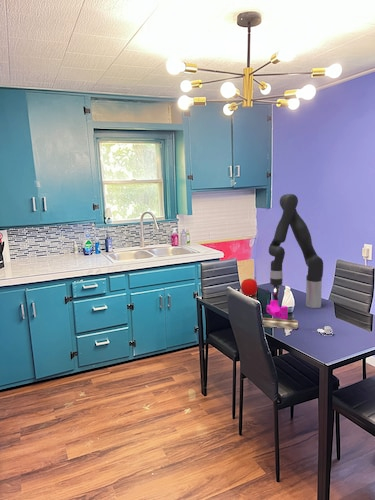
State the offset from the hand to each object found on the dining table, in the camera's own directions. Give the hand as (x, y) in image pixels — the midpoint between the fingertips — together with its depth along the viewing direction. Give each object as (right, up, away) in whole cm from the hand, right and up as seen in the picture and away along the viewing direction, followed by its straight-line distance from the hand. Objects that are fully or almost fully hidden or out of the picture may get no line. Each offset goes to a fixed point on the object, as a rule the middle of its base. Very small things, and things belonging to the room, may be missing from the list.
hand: (276, 303), depth 236 cm
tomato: (-12, +1, +29) cm, 32 cm away
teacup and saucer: (+18, -11, -36) cm, 42 cm away
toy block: (-2, -6, -10) cm, 12 cm away
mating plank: (-5, -9, -27) cm, 29 cm away
